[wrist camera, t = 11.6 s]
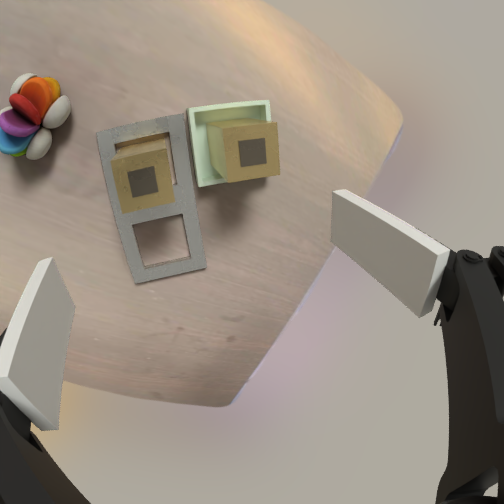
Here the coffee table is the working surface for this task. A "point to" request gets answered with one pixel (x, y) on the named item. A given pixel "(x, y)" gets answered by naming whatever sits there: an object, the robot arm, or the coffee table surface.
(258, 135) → the brass block
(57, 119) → the colorful toy
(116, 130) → the grey frame plate
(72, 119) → the coffee table surface
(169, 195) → the tan textured tower
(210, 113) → the tray
